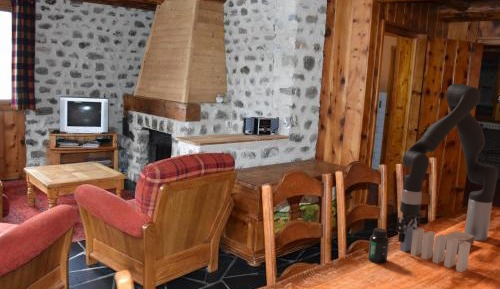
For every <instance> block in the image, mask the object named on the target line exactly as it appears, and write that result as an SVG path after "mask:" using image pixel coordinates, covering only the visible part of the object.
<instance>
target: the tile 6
mask: <svg viewBox="0 0 500 289" xmlns="http://www.w3.org/2000/svg"><path fill="white" fill-rule="evenodd" d="M470 244H471V243H468V242H463V243H461V244H459V250H458V252H457V257H456V264H455V265H456V267H455V271H457V272H459V273H462V272H465V271H466V270H468V266H469V257H470V250H471V246H470Z"/></svg>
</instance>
